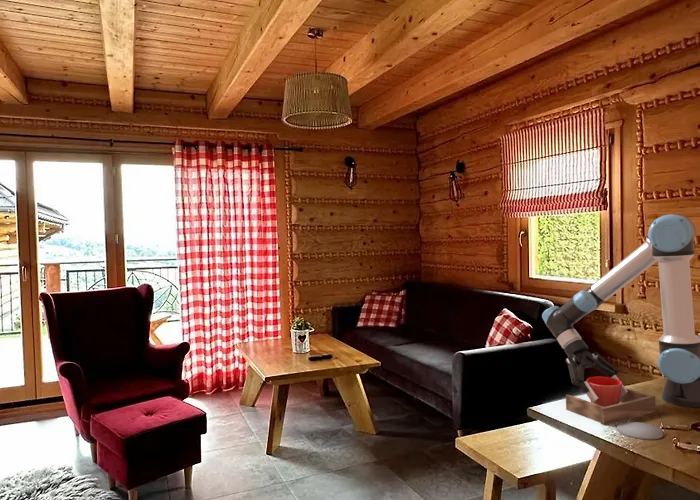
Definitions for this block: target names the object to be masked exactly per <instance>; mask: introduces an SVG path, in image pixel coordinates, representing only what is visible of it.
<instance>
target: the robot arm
mask: <svg viewBox="0 0 700 500" xmlns="http://www.w3.org/2000/svg"><path fill="white" fill-rule="evenodd" d="M696 231H697V229H696V226H695V224H694V222H693V221H692V220H691V219H690V218H689V217H687V216H685V215H682V214H675V213H674V214H671V213H670V214H665V215H664V214H663V215H662V216H659V217H658V218H656V219H655V220H653V222H652V223H651V225H650V226H649V228H648V233H647V236H646V237H645V242H643V243H642V244H640V245H639V246H638V247H637V248H635V250H634V251H632V252H631V253H630V254H628V255H627V256H626V257H625V258H623V259H622V260H621V261H620V262H618V263H617V264H616V265H615V266H614V267H613V268H611V269H610V270H609V271H607V272H606V273H605V274H604V275H602V276H601V277H600V278H599V279H598V280H597V281H595V282H594V283H593V284H592V285H590V286H589V287H587V288H586V289H585V290H584V289H582V290H579V292H577V293H575V294H574V295H573V296H572V297H571V298H570V299H568V301H566V302H565V303H564V304H562V305H561V306H560V307H559V306H557V305H552V306H550V307H549V308H547V309H545V310H544V311H543V312H542V314H541V318H542V319H543V321H544V324H545V325H546V327H547V328H548V330H549V331H550V332H551V334H552V335H553V336H554V338H555V339H556V341H557V343H558V344H559V346H561V348H562V349H563V350H564V353H565V354H566V355H567V358H566V359H565V363H566V365H567V368H568V371H569V377H570V380H571V384H572V385H575V386H576V387H580V389H581V390H582V391H583V393H584V394H586V396H587V397H588V399H589V400H591V401H590V402H592V403H594V402H595V401H596V400H597V399H598V397H597V395H596V394H595V392H594V391H593V390H592V388H591V387H590V385H589V384H588V382H587V381H586V380H585V369H586V368H587V369H589V368H591V369H595V370H597V371H598V372H600V373H602V374H604V375H605V376H606V377H610V378H614V379H618V380H620V381H621V379H620V378H619V376H618V374H619V373H620V370H619V369H618V368H616V367H615V366H614V365H613V364H611V363H610V362H609V361H607V360H606V359H605V358H604V357H602V356H601V354H599V352H597V351H594V352H593V353H591V352H590V351H589V346H588V345H587V344H586V342H585V341H584V340H583V339H582V336H581V335H580V334H579V332H578V331H577V330H576V329H575V327H574V326H573V325H574V324H575V325H576V323H577V322H578V321H580V320H581V319H582V318H584V317H585V316H587V315H588V314H590V313H591V312H593V311H595V310H597V309H599V307H600V306H601V305H603V304H604V303H605V302H606V301H608V300H609V299H610V298H612V297H613V296H614V295H615V294H617V293H618V292H619V291H620V290H622V289H623V288H624V287H626V286H627V285H628V284H629V283H631V282H632V281H634V280H635V279H636V278H637V277H638V276H640V275H641V274H643V273H644V272H645V271H647V270H648V269H649V268H650V267H652V266H653V265H654V264H655V263H657V265H658V276H659V290H660V302H661V303H660V305H661V318H662V332H663V334H662V335H661V336H660V337H659V338H658V348H659V349H658V350H659V351H658V352H659V356H658V359H657V366H658V370H659V371H660V373H661V374H662V375H663V376H664V378H665V381H664V384H663V387H662V390H661V398H662V400H664V401H665V402H667V403H671V404H673V405H677V406H683V407H687V408H688V407H689V408H700V335H697V334H696V332H695V330H696V329H695V319H694V318H695V317H694V316H695V315H694V306H693V305H694V304H693V291H692V279H691V276H692V275H691V266H690V265H691V263H690V260H691V259H693V257H695V242H694V241H695V240H694V239H695V237H696ZM626 389H627V388H626V387H625V385H624V384H623V383H622V389H621V396H623V395H624V394H626V393H627V392H628V391H627V390H626Z"/></svg>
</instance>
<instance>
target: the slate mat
mask: <svg viewBox="0 0 700 500" xmlns="http://www.w3.org/2000/svg"><path fill="white" fill-rule="evenodd" d="M616 427H617V431H618V432H619V434H621V435H623V436H626V437H629V438H633V439H638V440H647V441H650V440H651V441H652V440H658V439H661V438H662V437H664V431H663V429H661V428H660V427H658V426H656V425H654V424H649V423H645V422H644V423H643V422H638V421H637V422H636V421H627V422H626V421H625V422H621V423H619V424H618V425H617V426H616Z"/></svg>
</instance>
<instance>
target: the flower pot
mask: <svg viewBox="0 0 700 500" xmlns="http://www.w3.org/2000/svg"><path fill="white" fill-rule="evenodd" d="M585 381H587V382H588V384H589V385H590V387H591V388H592V390H593V391H594V392H595V394H596V395H597V397H598V399H597V400H596V401H595V402H594V404H597V405H600V406H603V407H606V406H611V405H615V404H619V403H620V402H619V400H620V395H621V389H622V384H623V382H622V380H621V379H620V380H618V379H614V378H610V377H608V376H590V377H588V378H586V380H585ZM589 400H590V399H589ZM589 402H591V400H590V401H589ZM591 403H592V402H591Z"/></svg>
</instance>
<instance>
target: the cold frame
mask: <svg viewBox="0 0 700 500" xmlns="http://www.w3.org/2000/svg"><path fill="white" fill-rule="evenodd" d="M626 390H627V391H628V392H627V393H626V394H624V395H623V396H621V395H620V400H619V404H615V405H611V406H606V407H603V406H600V405H597V404H594V403H591V401H588V400H586V399H582V398H579V397H576V396H574V395H570V394H566V395H565V409H566V410H567V411H569V412H571V413H574V414H577V415H580V416H582V417H585V418H587V419H589V420H592V421H595V422H598V423H600V425H603V426H605V425H609V424H612V423H613V424H614V423H616V422H620V421H625V420H629V419H633V418H637V417H640V416H643V415H647V414H651V413H655V412H657V406H656V404H657V403H656V402H657V400H656V396H655V395H652V394H651V395H650V394H646V393H643V392H639V391H637V390H636V391H635V390H633V389H629V388H626Z"/></svg>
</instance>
